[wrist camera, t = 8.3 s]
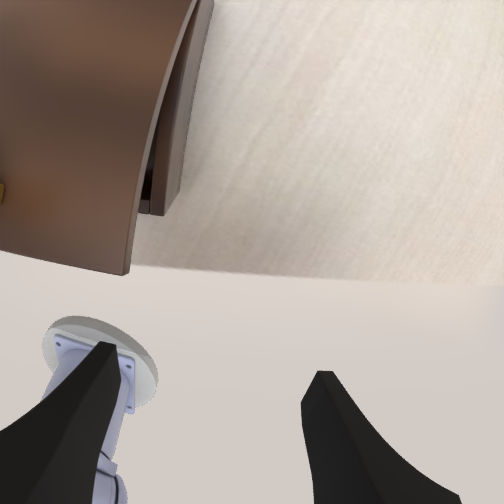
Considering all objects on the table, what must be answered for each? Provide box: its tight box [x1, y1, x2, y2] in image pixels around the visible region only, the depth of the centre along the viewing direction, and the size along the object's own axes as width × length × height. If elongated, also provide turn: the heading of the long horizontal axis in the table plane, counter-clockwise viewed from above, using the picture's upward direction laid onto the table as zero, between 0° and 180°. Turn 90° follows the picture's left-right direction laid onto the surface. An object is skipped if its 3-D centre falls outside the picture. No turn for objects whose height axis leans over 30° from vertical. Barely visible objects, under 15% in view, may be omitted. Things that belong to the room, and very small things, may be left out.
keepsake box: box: [138, 0, 214, 216], centre depth 12 cm, size 11×14×4 cm
